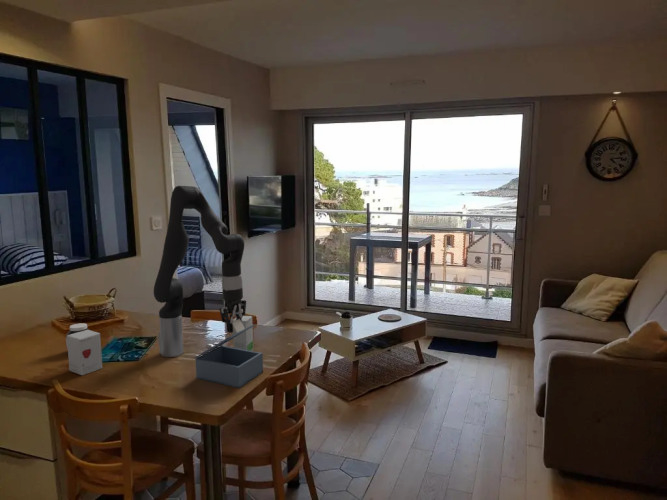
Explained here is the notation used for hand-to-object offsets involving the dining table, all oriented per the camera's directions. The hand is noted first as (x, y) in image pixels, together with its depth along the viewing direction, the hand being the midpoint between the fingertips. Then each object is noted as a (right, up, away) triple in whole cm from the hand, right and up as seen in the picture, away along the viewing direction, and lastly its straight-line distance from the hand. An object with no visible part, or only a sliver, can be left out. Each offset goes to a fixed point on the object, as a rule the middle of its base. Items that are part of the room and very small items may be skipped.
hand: (234, 329), depth 182 cm
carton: (-3, -19, +4) cm, 19 cm away
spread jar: (-74, -15, +28) cm, 80 cm away
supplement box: (-62, -18, +9) cm, 65 cm away
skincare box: (-2, -15, +29) cm, 33 cm away
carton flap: (-4, -5, +3) cm, 7 cm away
